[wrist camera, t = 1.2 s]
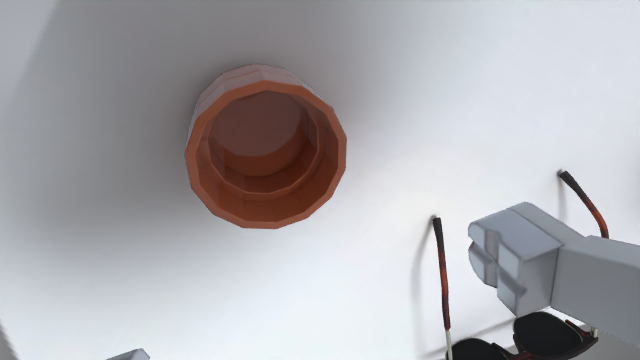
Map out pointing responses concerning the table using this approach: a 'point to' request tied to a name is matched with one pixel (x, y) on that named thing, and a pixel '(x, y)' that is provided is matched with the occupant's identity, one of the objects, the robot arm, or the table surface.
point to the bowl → (264, 148)
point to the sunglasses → (523, 317)
